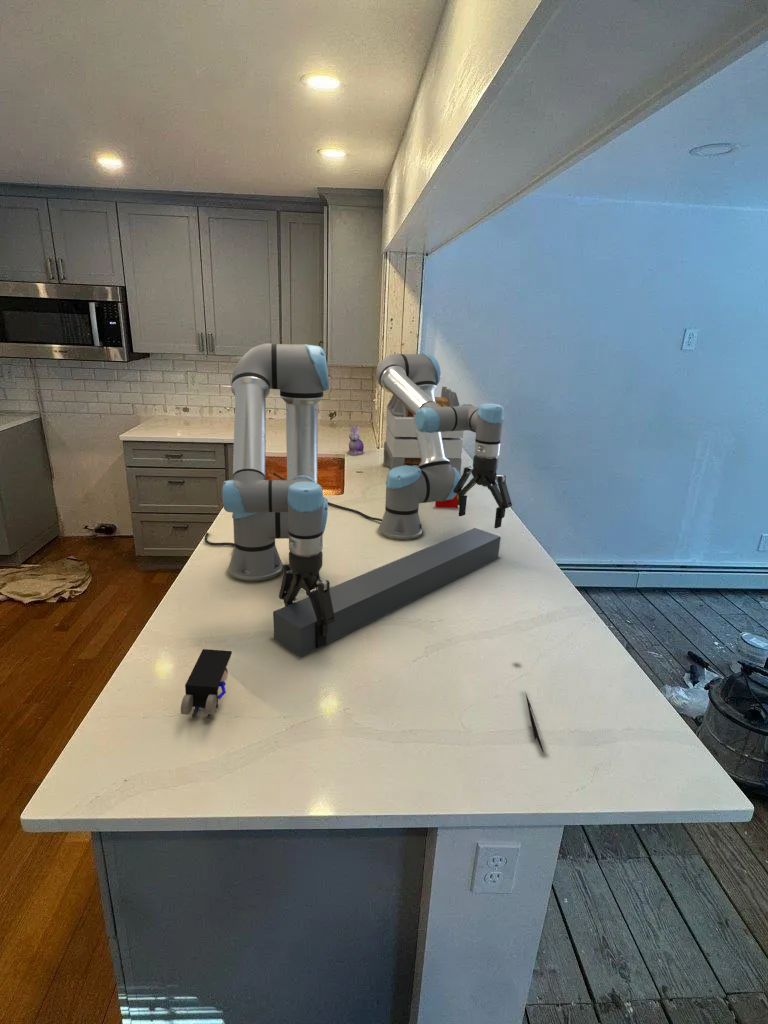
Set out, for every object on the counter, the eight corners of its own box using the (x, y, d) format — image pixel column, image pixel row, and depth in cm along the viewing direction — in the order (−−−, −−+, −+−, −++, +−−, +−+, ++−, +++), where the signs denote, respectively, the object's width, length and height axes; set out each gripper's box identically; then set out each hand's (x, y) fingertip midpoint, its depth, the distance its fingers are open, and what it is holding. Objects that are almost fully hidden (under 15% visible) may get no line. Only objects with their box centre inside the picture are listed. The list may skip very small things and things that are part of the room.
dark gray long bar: (472, 548, 191) (474, 527, 188) (498, 557, 184) (500, 536, 182) (273, 639, 134) (273, 611, 132) (300, 657, 128) (300, 628, 125)
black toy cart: (217, 731, 106) (235, 675, 120) (214, 701, 103) (232, 647, 116) (181, 730, 106) (203, 674, 119) (176, 700, 103) (199, 646, 116)
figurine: (351, 455, 300) (352, 427, 295) (343, 451, 309) (344, 424, 304) (367, 454, 304) (368, 426, 299) (359, 450, 313) (360, 423, 308)
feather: (517, 669, 129) (522, 662, 128) (543, 757, 102) (550, 750, 102) (511, 665, 129) (516, 659, 128) (535, 752, 102) (542, 745, 101)
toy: (452, 466, 252) (464, 476, 223) (451, 496, 255) (462, 509, 226) (425, 465, 252) (433, 475, 222) (424, 495, 254) (431, 508, 225)
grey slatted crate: (382, 463, 289) (386, 382, 275) (445, 464, 293) (451, 384, 279) (390, 482, 257) (394, 392, 243) (460, 483, 261) (468, 394, 247)
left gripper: (261, 540, 132) (264, 623, 139) (326, 572, 117) (325, 663, 125) (287, 532, 137) (289, 613, 144) (352, 562, 122) (350, 650, 130)
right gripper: (446, 449, 177) (440, 513, 184) (515, 466, 161) (507, 535, 169) (460, 446, 182) (454, 508, 190) (529, 462, 167) (520, 529, 174)
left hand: (305, 636), depth 135 cm, fingers closed on dark gray long bar, 10 cm apart
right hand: (479, 521), depth 179 cm, fingers open, 13 cm apart
